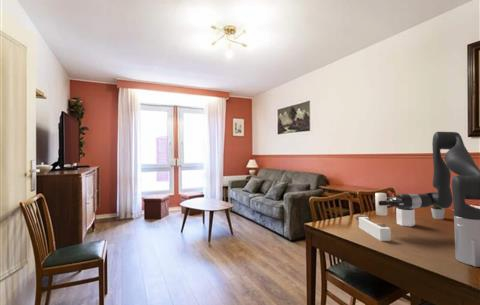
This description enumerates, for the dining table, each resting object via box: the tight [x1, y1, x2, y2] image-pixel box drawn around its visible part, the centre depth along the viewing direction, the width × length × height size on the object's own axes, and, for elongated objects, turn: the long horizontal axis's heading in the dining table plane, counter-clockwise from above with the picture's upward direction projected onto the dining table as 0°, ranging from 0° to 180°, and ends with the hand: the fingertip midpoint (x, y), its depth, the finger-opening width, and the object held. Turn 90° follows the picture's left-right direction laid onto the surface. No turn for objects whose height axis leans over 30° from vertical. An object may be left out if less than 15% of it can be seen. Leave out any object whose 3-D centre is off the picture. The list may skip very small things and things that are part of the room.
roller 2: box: [375, 223, 387, 227], centre depth 139 cm, size 3×7×3 cm, turn 90°
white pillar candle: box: [374, 192, 388, 217], centre depth 128 cm, size 5×5×11 cm
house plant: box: [430, 205, 446, 220], centre depth 155 cm, size 14×14×16 cm
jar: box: [395, 207, 416, 228], centre depth 144 cm, size 9×8×12 cm
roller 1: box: [354, 214, 368, 220], centre depth 159 cm, size 3×7×3 cm
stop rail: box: [358, 216, 392, 242], centre depth 129 cm, size 22×5×6 cm, turn 179°
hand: (376, 202), depth 128 cm, fingers closed on white pillar candle, 5 cm apart
